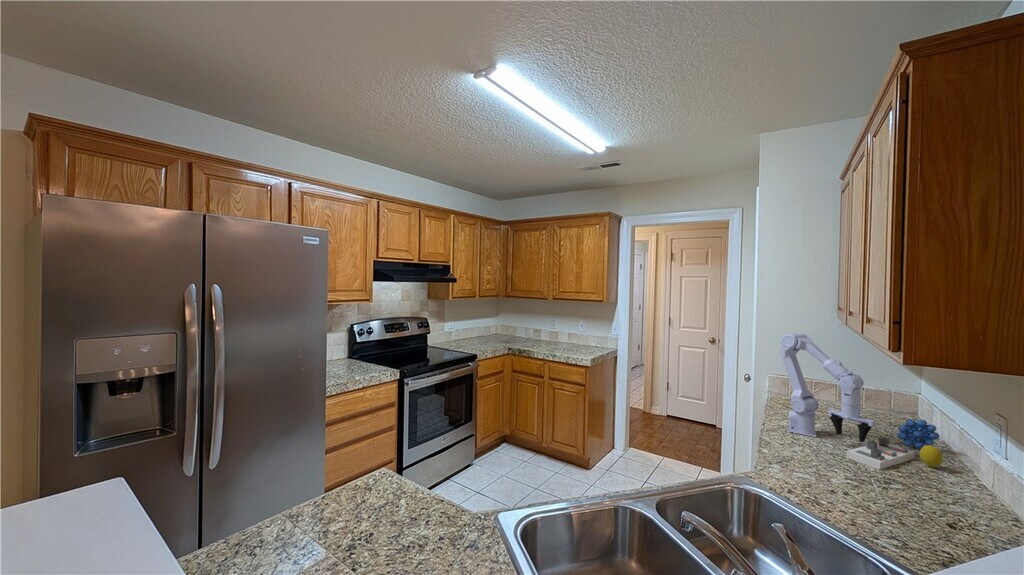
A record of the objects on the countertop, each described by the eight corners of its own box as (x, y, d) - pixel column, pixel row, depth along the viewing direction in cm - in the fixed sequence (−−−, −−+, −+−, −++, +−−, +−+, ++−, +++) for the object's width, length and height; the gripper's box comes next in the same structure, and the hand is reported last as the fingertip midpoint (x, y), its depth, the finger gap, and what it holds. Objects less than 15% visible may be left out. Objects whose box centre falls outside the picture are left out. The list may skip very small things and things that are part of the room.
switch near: (877, 458, 136) (877, 451, 136) (870, 456, 138) (870, 449, 138) (881, 457, 137) (881, 450, 137) (874, 455, 139) (874, 447, 139)
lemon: (947, 471, 133) (947, 448, 133) (931, 470, 133) (931, 448, 133) (930, 463, 138) (930, 442, 138) (915, 463, 138) (915, 441, 138)
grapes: (936, 449, 150) (936, 419, 150) (940, 455, 145) (940, 424, 145) (895, 441, 158) (895, 412, 158) (897, 446, 153) (898, 417, 152)
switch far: (885, 446, 146) (885, 439, 146) (878, 444, 148) (878, 437, 148) (888, 445, 147) (888, 438, 147) (882, 443, 149) (882, 436, 149)
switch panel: (879, 469, 134) (880, 459, 134) (846, 457, 143) (846, 448, 143) (914, 458, 142) (914, 449, 142) (880, 447, 151) (880, 438, 151)
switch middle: (873, 449, 143) (873, 442, 143) (867, 447, 145) (867, 440, 145) (877, 448, 144) (877, 441, 144) (870, 446, 146) (870, 439, 146)
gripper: (824, 400, 156) (823, 432, 157) (867, 411, 143) (867, 446, 143) (834, 398, 159) (834, 430, 159) (877, 409, 146) (877, 443, 146)
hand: (850, 437), depth 151 cm, fingers open, 7 cm apart
